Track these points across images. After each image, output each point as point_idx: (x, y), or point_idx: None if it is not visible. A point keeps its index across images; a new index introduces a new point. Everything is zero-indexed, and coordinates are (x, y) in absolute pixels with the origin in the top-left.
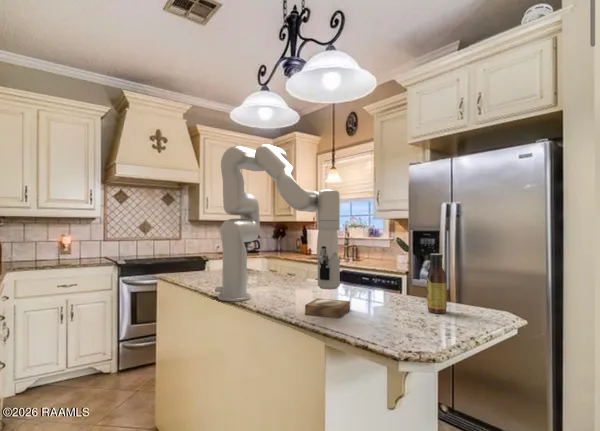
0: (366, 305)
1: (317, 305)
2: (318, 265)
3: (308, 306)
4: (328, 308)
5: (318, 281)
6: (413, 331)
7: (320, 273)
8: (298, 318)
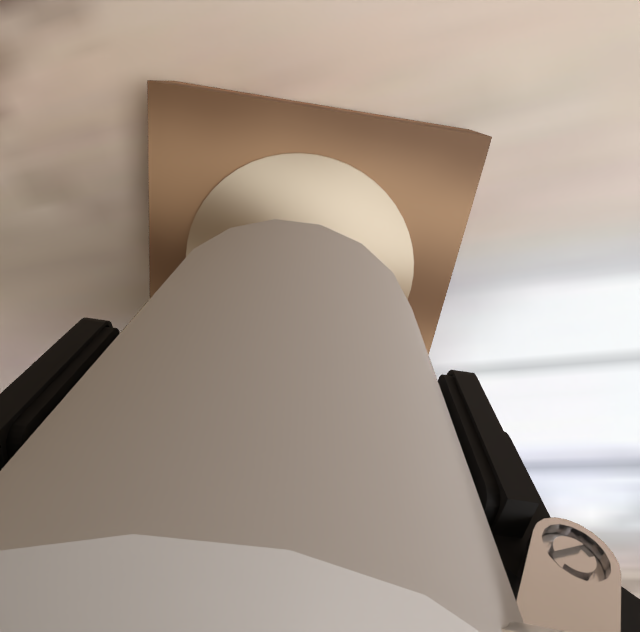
0: (550, 453)
1: (171, 201)
2: (71, 400)
3: (152, 116)
4: (152, 292)
5: (188, 262)
6: None
7: (40, 369)
8: (20, 60)
